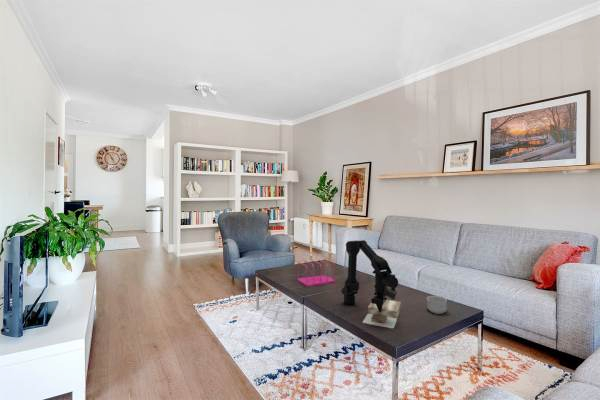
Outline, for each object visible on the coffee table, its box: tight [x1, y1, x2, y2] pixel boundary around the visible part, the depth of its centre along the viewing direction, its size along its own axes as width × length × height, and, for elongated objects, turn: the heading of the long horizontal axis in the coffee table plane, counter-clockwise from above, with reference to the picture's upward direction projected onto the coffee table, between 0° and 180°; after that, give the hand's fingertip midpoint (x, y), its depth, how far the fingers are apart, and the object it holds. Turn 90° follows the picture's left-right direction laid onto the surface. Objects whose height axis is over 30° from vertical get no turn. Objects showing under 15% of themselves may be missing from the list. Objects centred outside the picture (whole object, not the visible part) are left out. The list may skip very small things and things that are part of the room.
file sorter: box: [296, 258, 337, 288], centre depth 237 cm, size 17×25×16 cm
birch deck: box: [367, 299, 402, 319], centre depth 179 cm, size 16×16×4 cm
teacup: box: [426, 295, 448, 315], centre depth 178 cm, size 14×11×8 cm
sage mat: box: [362, 313, 398, 329], centre depth 166 cm, size 16×13×1 cm
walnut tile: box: [371, 313, 387, 324], centre depth 165 cm, size 7×6×2 cm
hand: (380, 311), depth 166 cm, fingers closed
